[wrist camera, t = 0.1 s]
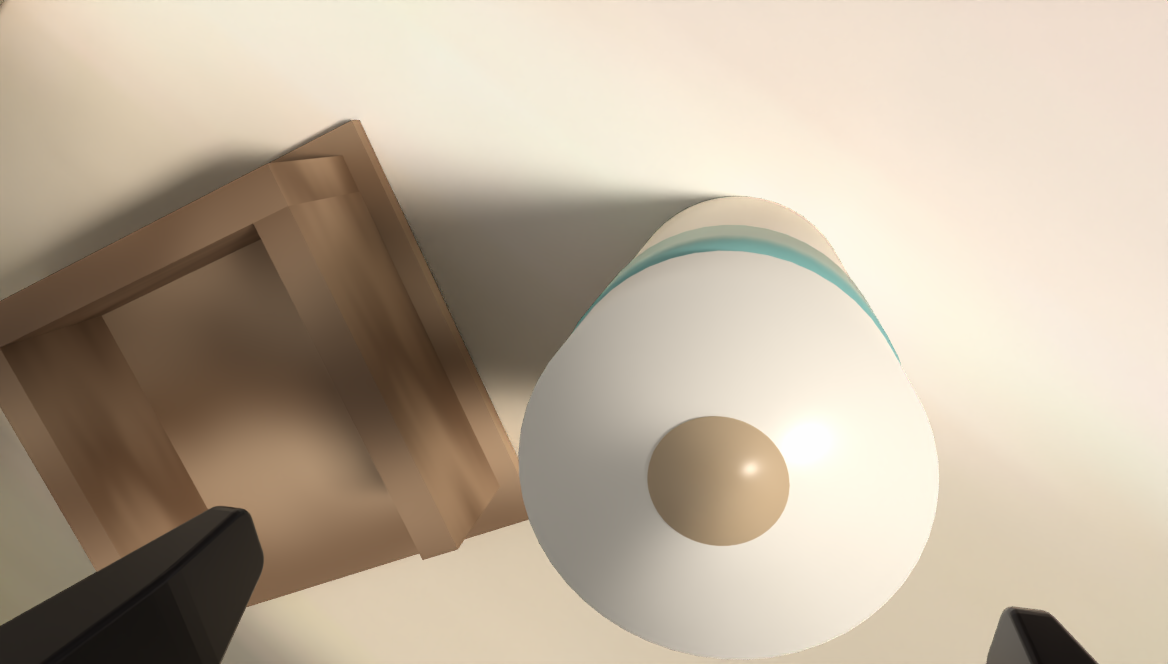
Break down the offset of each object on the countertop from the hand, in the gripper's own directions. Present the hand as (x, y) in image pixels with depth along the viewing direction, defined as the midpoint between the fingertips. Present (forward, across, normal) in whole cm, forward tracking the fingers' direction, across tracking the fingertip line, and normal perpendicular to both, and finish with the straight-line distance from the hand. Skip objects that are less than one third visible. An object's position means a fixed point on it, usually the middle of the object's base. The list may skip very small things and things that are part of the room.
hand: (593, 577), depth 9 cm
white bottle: (+15, -1, +4) cm, 16 cm away
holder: (+14, +14, +8) cm, 21 cm away
